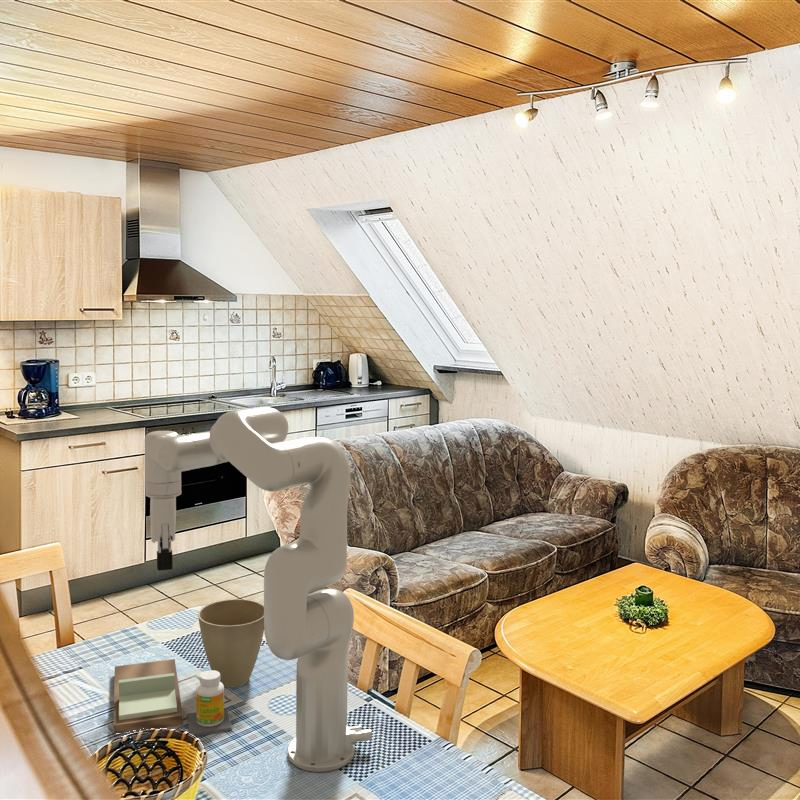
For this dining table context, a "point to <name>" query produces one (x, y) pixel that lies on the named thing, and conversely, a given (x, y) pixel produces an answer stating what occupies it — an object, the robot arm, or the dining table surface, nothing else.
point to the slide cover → (147, 696)
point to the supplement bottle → (210, 699)
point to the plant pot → (232, 638)
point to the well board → (147, 721)
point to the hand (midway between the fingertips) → (164, 568)
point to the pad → (202, 730)
